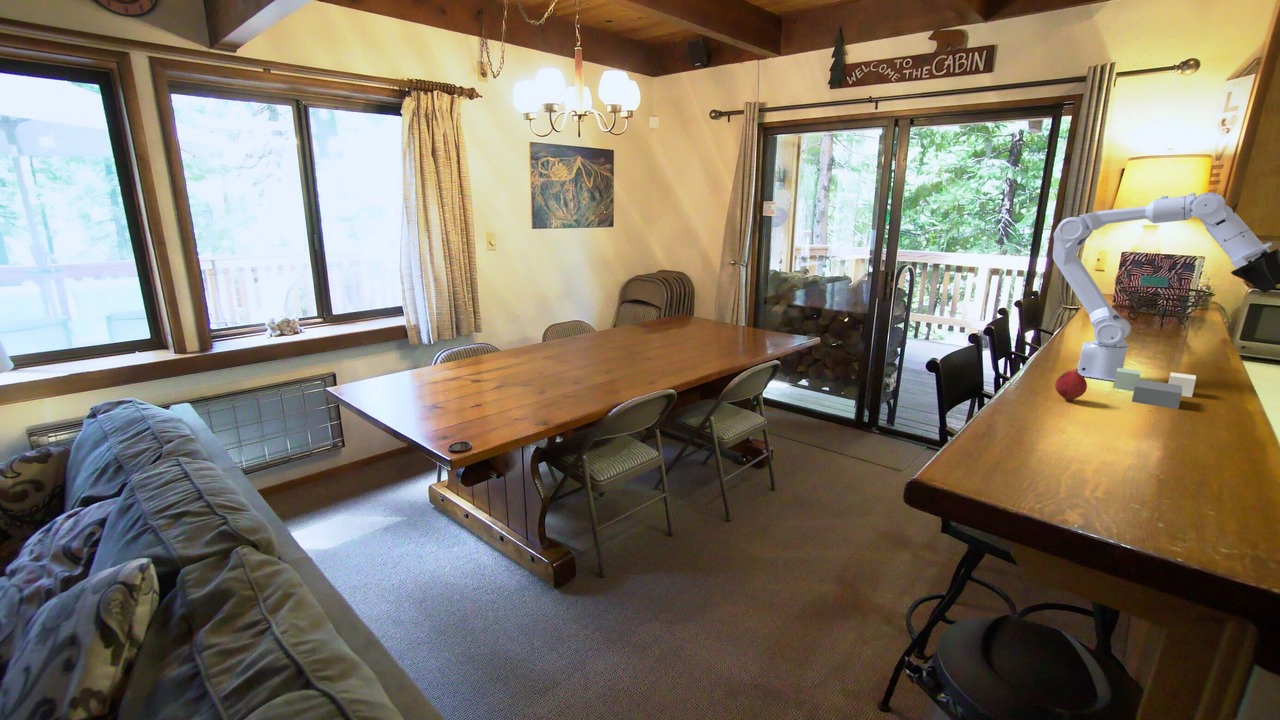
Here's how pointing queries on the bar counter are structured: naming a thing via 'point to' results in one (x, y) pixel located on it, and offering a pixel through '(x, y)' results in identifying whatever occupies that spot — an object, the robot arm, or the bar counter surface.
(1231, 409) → the bar counter surface
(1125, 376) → the sage block
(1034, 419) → the bar counter surface
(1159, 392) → the base block
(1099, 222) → the robot arm
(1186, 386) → the cream block
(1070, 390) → the onion
